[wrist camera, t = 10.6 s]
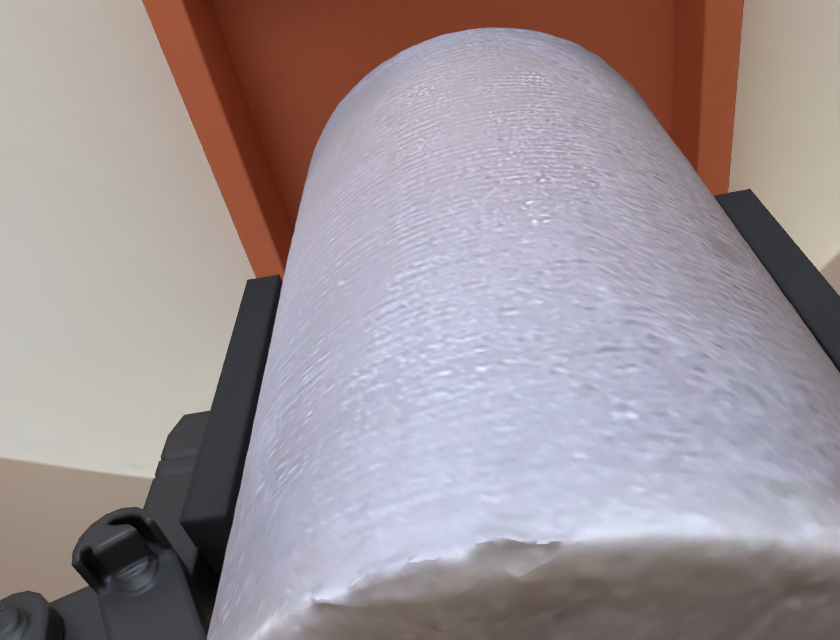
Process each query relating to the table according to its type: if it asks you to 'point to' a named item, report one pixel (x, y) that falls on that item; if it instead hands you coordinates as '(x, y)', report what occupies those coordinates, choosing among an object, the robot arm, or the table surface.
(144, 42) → the table surface
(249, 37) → the holder
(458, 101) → the pillar candle
